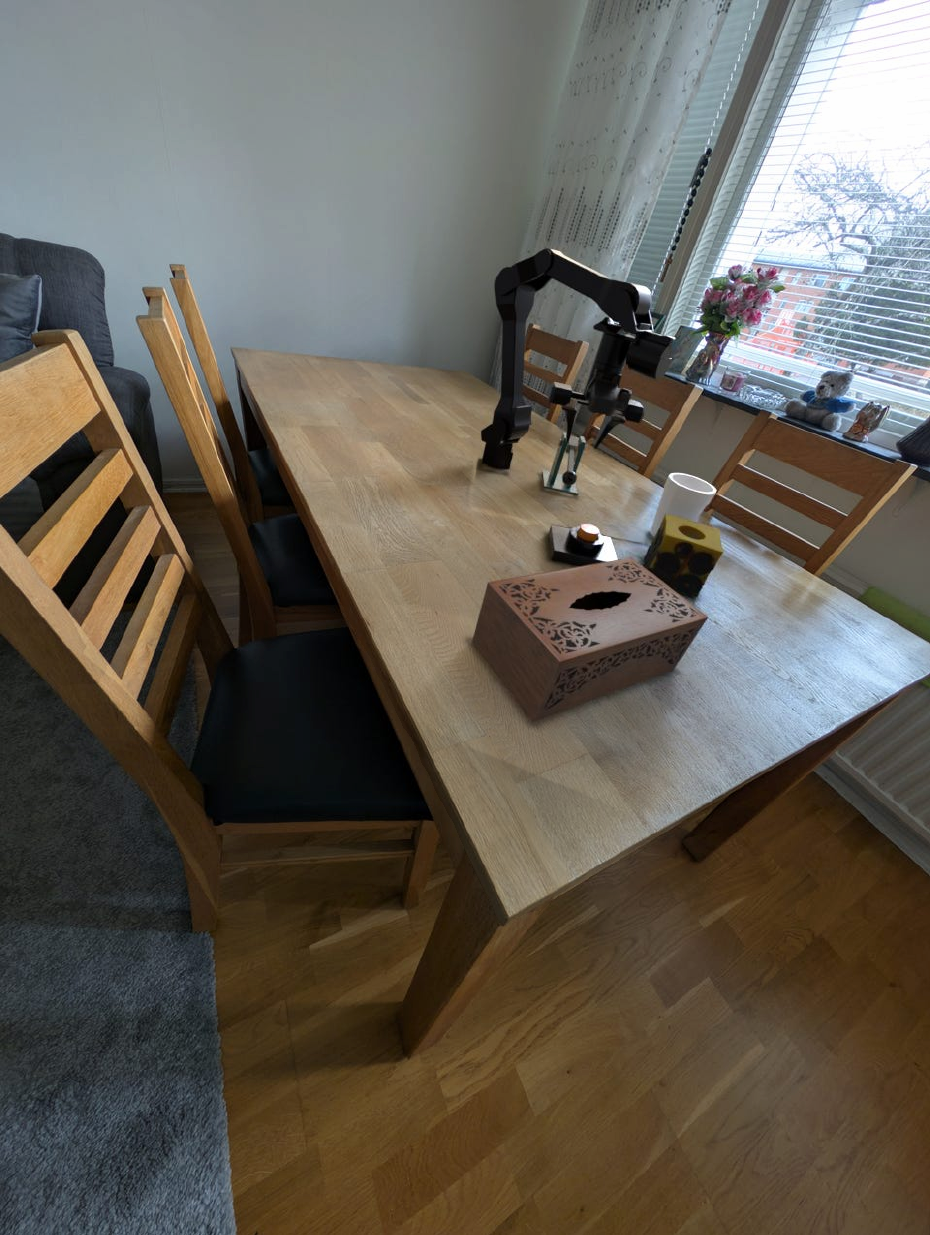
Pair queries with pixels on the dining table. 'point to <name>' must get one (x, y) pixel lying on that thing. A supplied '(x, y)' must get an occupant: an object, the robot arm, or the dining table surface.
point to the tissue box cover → (582, 633)
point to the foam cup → (683, 498)
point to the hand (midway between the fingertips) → (580, 445)
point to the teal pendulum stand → (553, 478)
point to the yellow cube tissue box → (683, 554)
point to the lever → (570, 462)
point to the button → (588, 532)
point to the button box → (579, 547)
